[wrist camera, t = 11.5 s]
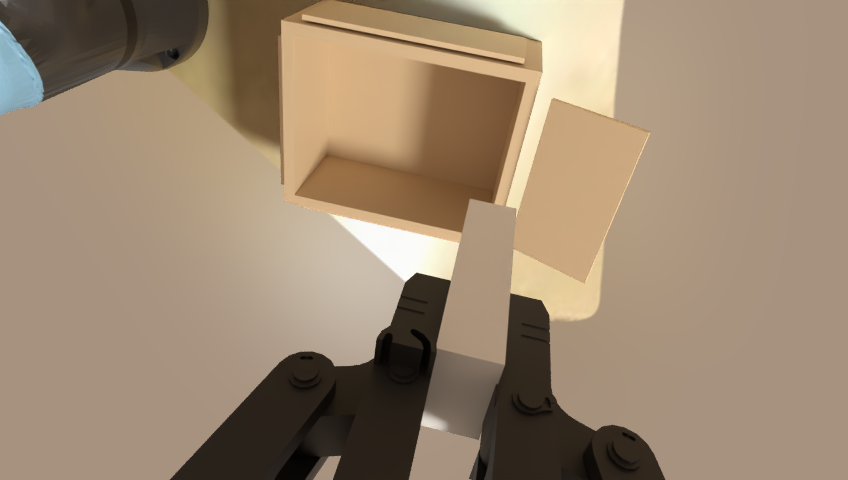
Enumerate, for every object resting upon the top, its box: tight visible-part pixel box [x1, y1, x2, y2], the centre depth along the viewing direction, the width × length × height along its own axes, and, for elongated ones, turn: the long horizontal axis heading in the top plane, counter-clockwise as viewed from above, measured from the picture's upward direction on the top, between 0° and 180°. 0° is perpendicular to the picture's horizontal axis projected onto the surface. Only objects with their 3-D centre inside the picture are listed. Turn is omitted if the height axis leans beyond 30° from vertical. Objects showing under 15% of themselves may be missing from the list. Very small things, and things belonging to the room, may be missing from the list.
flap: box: [513, 98, 650, 284], centre depth 41 cm, size 8×14×1 cm, turn 171°
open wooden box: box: [278, 0, 542, 243], centre depth 49 cm, size 22×18×10 cm
